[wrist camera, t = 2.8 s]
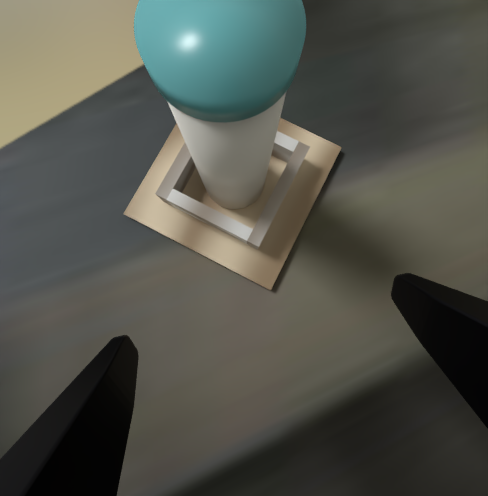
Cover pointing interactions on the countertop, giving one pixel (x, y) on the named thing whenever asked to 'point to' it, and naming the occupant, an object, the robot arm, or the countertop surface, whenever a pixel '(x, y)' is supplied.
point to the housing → (237, 220)
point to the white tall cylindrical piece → (224, 82)
